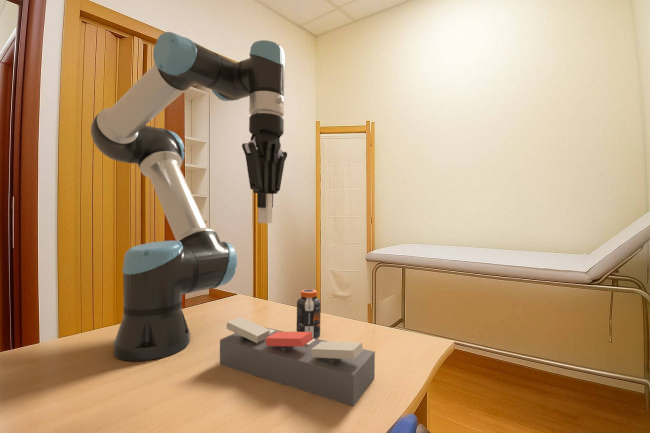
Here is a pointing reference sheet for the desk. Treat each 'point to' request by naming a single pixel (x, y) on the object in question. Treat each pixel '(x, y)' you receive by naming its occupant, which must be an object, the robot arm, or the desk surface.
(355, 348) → the block
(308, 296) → the pill bottle
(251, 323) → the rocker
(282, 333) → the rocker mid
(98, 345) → the desk surface
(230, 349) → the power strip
